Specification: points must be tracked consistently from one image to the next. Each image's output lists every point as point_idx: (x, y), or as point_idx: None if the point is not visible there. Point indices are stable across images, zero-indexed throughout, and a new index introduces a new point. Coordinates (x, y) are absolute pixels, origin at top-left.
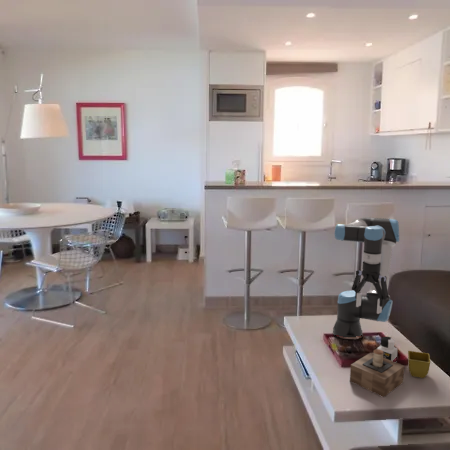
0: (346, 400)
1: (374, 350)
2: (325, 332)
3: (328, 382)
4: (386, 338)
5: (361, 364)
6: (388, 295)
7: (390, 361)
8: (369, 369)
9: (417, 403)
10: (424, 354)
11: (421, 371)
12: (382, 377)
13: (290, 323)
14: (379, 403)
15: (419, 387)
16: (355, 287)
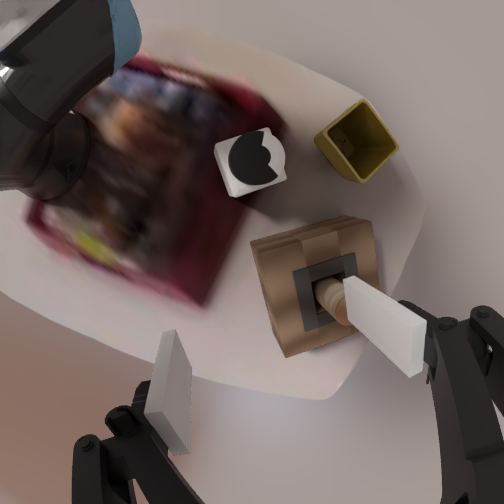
0: (321, 375)
1: (338, 318)
2: (21, 211)
3: (251, 375)
4: (256, 162)
5: (301, 332)
6: (501, 317)
7: (335, 238)
8: (331, 327)
9: (403, 253)
10: (355, 107)
11: (367, 159)
12: None
13: None
14: None
15: (374, 196)
16: (107, 469)
